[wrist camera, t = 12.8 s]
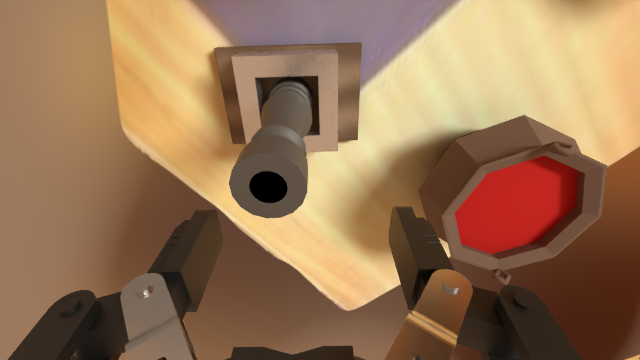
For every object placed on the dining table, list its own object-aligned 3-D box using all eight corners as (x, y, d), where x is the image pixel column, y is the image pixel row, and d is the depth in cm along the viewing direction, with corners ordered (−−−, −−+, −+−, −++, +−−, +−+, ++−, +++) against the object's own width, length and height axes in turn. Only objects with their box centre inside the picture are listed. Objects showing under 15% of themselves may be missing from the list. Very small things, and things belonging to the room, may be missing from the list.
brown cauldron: (418, 100, 45) (466, 142, 31) (572, 100, 45) (688, 142, 31) (396, 222, 57) (423, 292, 43) (517, 221, 57) (583, 291, 43)
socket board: (217, 47, 40) (214, 48, 39) (360, 42, 40) (361, 43, 39) (235, 140, 48) (232, 143, 46) (356, 136, 47) (357, 140, 46)
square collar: (240, 51, 39) (231, 56, 35) (335, 48, 39) (338, 53, 35) (254, 140, 46) (247, 153, 42) (335, 137, 46) (337, 150, 42)
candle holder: (321, 101, 43) (327, 194, 21) (289, 125, 45) (265, 233, 23) (295, 66, 40) (272, 131, 19) (262, 93, 42) (207, 180, 21)
